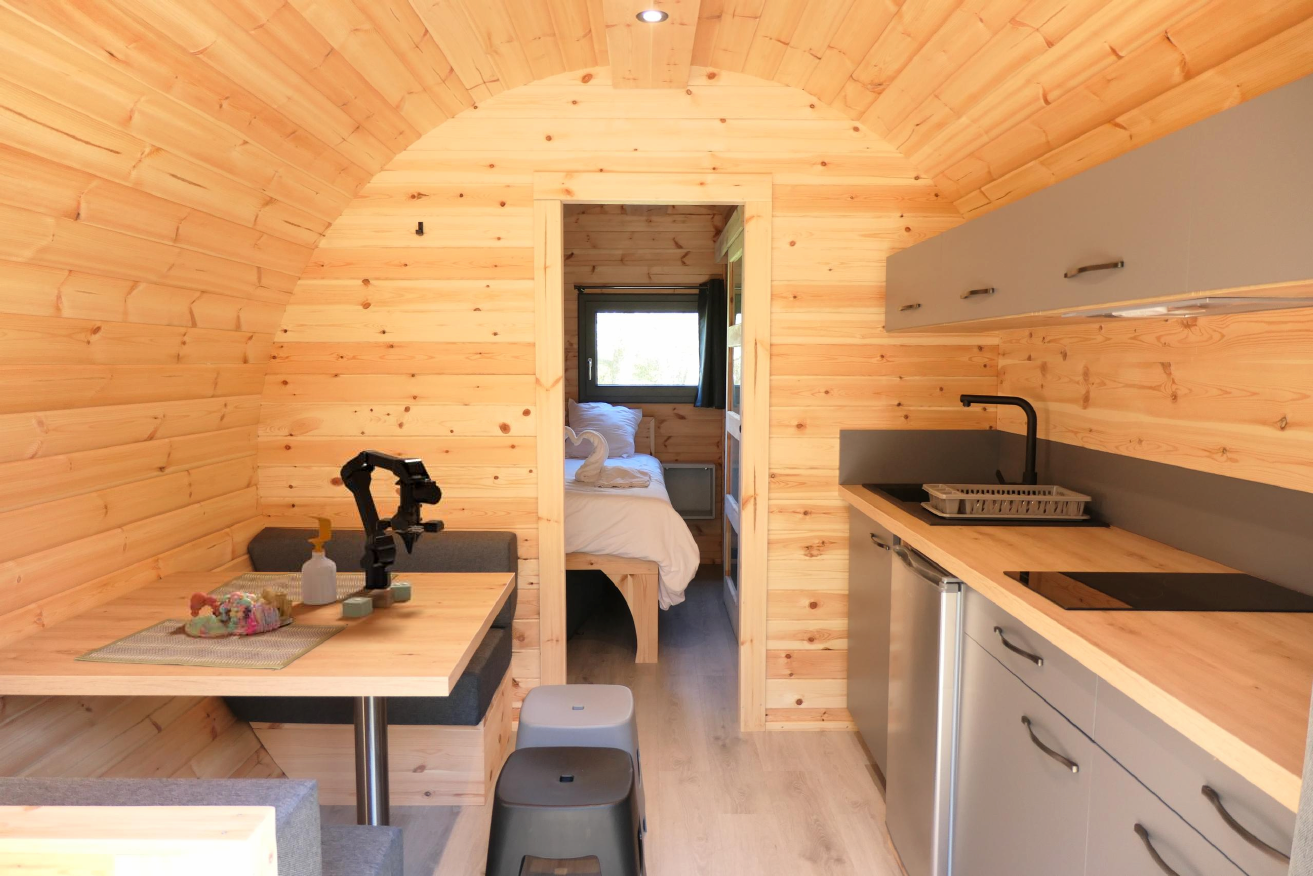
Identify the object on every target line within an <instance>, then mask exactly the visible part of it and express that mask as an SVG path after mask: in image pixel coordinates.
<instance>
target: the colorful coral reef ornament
mask: <svg viewBox="0 0 1313 876" xmlns="http://www.w3.org/2000/svg"><path fill="white" fill-rule="evenodd" d="M287 597H288V593H287V592H286V591H280V592H276V591H275V590H273V589H272V588H270V587H269V588H262V591H261V594H260V599H257V596H256V595H255V594H252V593H249V592H247V593H246V592H244V591H243V590H239V591H233V592H232V593H230V594H227V595H226V594H225V596H223V598H222V599H221V602H220V603H219V604H218V600H217V599H218V598H217V597H216V596H214V595H209V596H208V594H207V593H205V592H202V591H197V592H195V593H194V594H193V595H192V596H191V597H190V605H189V609H190V611H191V612H190V615H191V616H192V618H191V619H190V620H189V621H188V622H187V623H186V624H184V625H185V626H184V627H185V628H184V631H185V634H190V636H193V637H198V636H201V637H200V638H205V639H207V638H217V637H216V636H219V637H222V636H221V635H224V636H228V635H227V634H230V635H233V634H236V635H235V636H240V635H239V634H242V635H241V636H246V634H248V635H249V636H250V635H254V634H256V633H258V634H259V633H263V632H264V633H265V632H266V633H267V631H269V630H270V632H271V631H272V630H273V629H276V630H278V627H281V626H285V625H287V624H290V623H292V622H293V621H294V619H293V618H290V615H291V611H292V608H293V599H287ZM206 606H208V607H210V609H211V612H212V613H208V614H205V615H202V616H199V615H200V611H201V610H202V609H203V608H205V607H206ZM248 635H247V636H248Z"/></svg>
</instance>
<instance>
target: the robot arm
mask: <svg viewBox="0 0 1313 876" xmlns="http://www.w3.org/2000/svg"><path fill="white" fill-rule="evenodd" d="M376 468H379V469H383V470H387V471H390V472H392V474H393V476H395V477H397V478H398V480H396V481H395V483H394V485H395V486H399V505H398V506H397V512H396V513H394V514H393V516H392V517H384V518H381V519H380V516H379V514H378V510H377V507H376V504H375V501H374V499H373V495H372V493H371V492H372V491H371V490H370V487H371V484H372V479H373V478H372V474H373V472H374V471H375V470H376ZM339 475H340V478H341V481H342V483H343V485H344V487H345V488H347V489H348V490H349V491H350V492H351V493H352V495H353V498H354V501H355V504H356V507H357V510H358V513H359V516H360V520H361V523H362V526H363V529H364V532H365V535H366V539H365V543H364V552H365V553H364V555H363V556H362V557H361V559H360V560H359V564H360V565H359V566H360V568H361V569H364V570H365V572H364V574H365V575H364V577H365V582H364V583H365V585H364V586H362V588H363V589H365V590H366V589H367V590H368V589H373V590H385V589H386V588H388V587H390V586H391V583H392V571H391V570H390V566H393V565H395V559H396V555H397V544H396V543H395V539H394V537H393V535H392V534H387V533H386V532H384V531H388V529H389V528H391V531H394V533H395V534H396V535H398V536H400V538H401V540H402V541H403V544H404V546H405V549H406V552H407V554H408V555H413V553H414V551H415V549H416V546H417V544H418V541H419V540H420V538H421V536H422V534H423V533H430V534H431V533H432V534H433V533H434V534H435V533H436V534H437V533H439V532H442V531H444V530H445V523H444V521H443V520H441V519H430V520H427V521H425V522H424V521H423V517H421V508H423V505H424V504H425V505H431V506H435V505H437V504H439V502H440V501H441V500H442V495H443V493H442V490H441V487H440V486H439V485H437V481H436V480H432V478H431V477H430V474H429V473H428V470H427V469H426V467H425V464H424V463H423V460H422V459H421V458H419V457H398V456H395V455H392V454H391V455H390V454H387V453H382V452H380V451H378V450H375V449H371V450H362V451H360V452H359V453H358V454H357V456H354V457H353V458H352V459H350V460H349V461H347V462H346V463H345V464H344V465H342V467H341V469H340V472H339ZM422 521H423V522H422Z"/></svg>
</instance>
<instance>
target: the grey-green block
mask: <svg viewBox="0 0 1313 876" xmlns="http://www.w3.org/2000/svg"><path fill="white" fill-rule="evenodd" d="M341 603H342V617H346V618H361V619H362V618H365V616H367V615H369V614H372V613H373V608H372V598H368V597H360V596H359V597H358V596H353V597H351V598H348V599H346V600H344V601H342V602H341Z"/></svg>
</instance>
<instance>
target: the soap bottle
mask: <svg viewBox="0 0 1313 876" xmlns="http://www.w3.org/2000/svg"><path fill="white" fill-rule="evenodd" d="M308 518H309V519H310V518H311V519H313V520H314V519H315V520H317V521H318V533H319V534H318V537H316V538H310V539H308V540H307V542H308V543H312V544H313V546H314V545H315V548H314V549H312V552H311V553H312V555H311V558H310V559H308V560H307V561H306V562H304V563H303V565H302V568H301V594H302V595H301V598H302V599H301V600H302V603H303V604H304V605H308V606H323V605H328V604H331V603H334V602H336V600H337V598H338V597H337V596H338V593H337V589H338V588H337V566H336V565H337V564H336V563H335V562H334V561H333V560H332V559H330V558H328V557H326V549H325V548H323V547H322V546H323V545H324V544H325V543H324V542H327V541H330V540H331V538H332V521H331V519H329V518H326V517H321V516H313V515H312V516H311V515H309V516H308Z"/></svg>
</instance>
